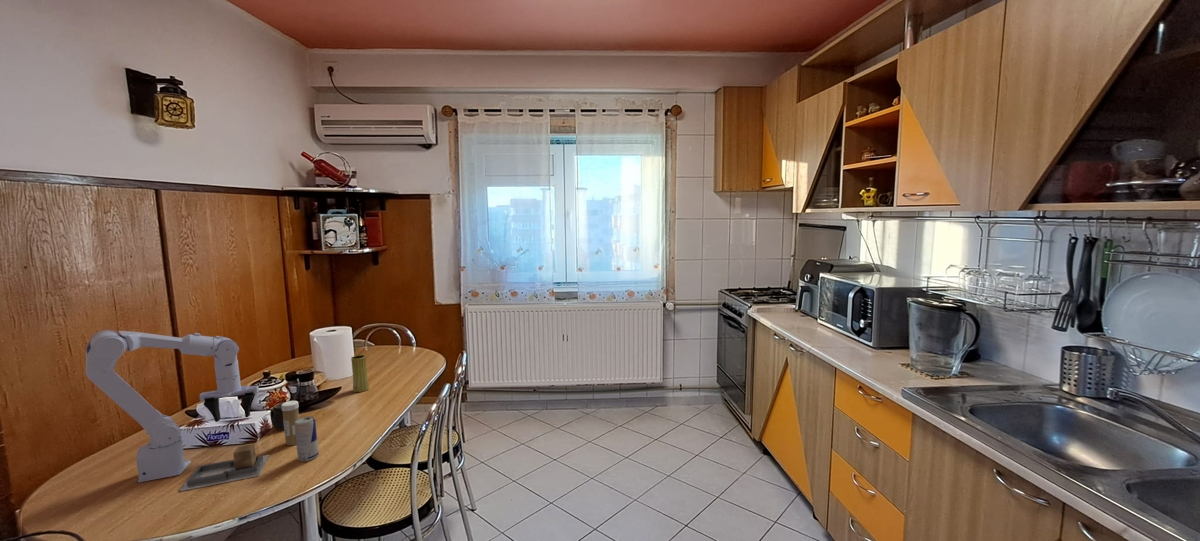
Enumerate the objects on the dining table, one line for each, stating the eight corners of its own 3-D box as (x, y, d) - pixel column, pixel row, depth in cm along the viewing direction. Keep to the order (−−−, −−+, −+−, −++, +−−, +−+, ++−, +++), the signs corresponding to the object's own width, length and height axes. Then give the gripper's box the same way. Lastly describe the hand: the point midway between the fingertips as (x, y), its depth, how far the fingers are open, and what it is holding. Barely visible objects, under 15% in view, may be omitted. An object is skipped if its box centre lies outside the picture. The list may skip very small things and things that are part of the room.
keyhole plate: (180, 491, 126) (179, 485, 126) (197, 469, 137) (196, 463, 137) (258, 476, 133) (258, 470, 133) (269, 456, 144) (268, 450, 144)
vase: (354, 388, 199) (351, 355, 198) (370, 386, 201) (367, 353, 199) (351, 393, 194) (348, 359, 192) (367, 391, 196) (365, 358, 194)
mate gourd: (270, 426, 164) (268, 398, 163) (296, 420, 169) (293, 393, 168) (273, 433, 159) (271, 405, 158) (299, 426, 164) (297, 399, 163)
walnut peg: (235, 472, 134) (233, 453, 133) (240, 466, 138) (237, 446, 137) (252, 469, 136) (250, 450, 135) (256, 462, 139) (254, 443, 139)
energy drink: (322, 452, 146) (318, 415, 144) (312, 461, 140) (308, 423, 139) (304, 453, 146) (300, 416, 144) (294, 462, 140) (290, 424, 139)
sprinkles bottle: (302, 443, 152) (298, 403, 150) (285, 447, 149) (281, 406, 148) (301, 437, 156) (297, 398, 154) (285, 441, 153) (281, 402, 152)
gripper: (193, 384, 139) (199, 428, 141) (252, 377, 145) (257, 419, 146) (202, 376, 146) (208, 418, 147) (258, 370, 151) (263, 410, 153)
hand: (233, 418), depth 147 cm, fingers open, 7 cm apart
